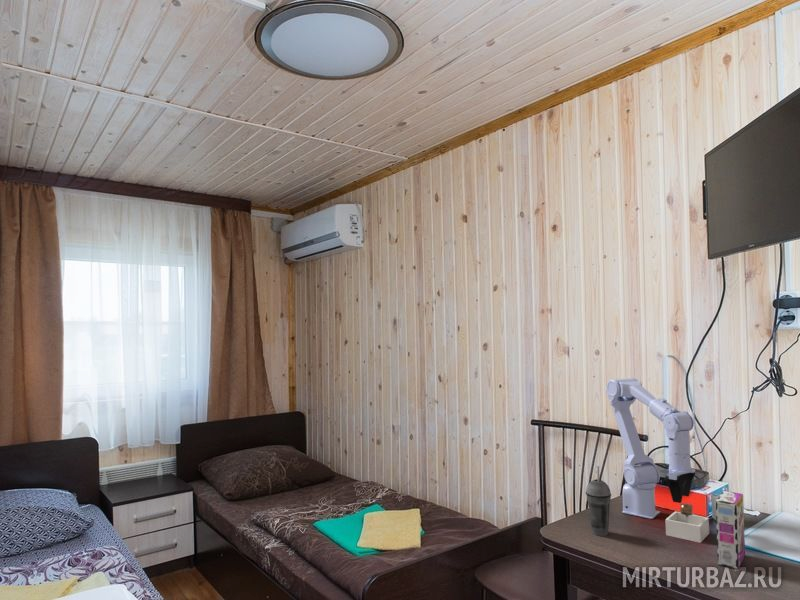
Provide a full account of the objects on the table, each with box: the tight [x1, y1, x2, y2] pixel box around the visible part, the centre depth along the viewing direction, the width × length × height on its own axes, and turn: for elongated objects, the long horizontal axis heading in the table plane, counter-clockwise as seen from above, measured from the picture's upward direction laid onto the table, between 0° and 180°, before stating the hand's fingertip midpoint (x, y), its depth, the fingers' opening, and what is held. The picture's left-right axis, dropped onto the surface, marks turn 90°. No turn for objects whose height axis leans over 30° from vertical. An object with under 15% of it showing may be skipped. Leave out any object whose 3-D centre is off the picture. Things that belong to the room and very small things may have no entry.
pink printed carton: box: [715, 490, 746, 570], centre depth 145 cm, size 11×5×16 cm, turn 141°
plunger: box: [679, 502, 694, 524], centre depth 163 cm, size 7×7×8 cm
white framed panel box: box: [664, 511, 710, 544], centre depth 164 cm, size 9×11×4 cm
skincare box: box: [710, 494, 721, 521], centre depth 173 cm, size 6×6×7 cm
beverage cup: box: [585, 465, 612, 537], centre depth 166 cm, size 7×7×20 cm
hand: (681, 498), depth 166 cm, fingers open, 7 cm apart
